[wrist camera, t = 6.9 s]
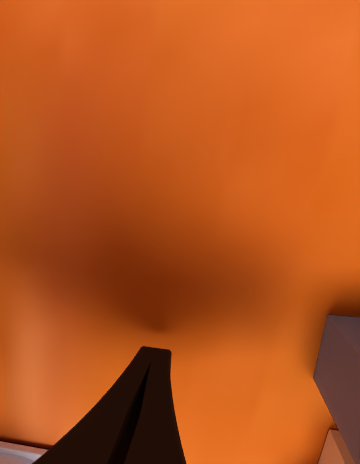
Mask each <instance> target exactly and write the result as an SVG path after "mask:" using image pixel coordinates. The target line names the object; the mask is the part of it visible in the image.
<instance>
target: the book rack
mask: <svg viewBox="0 0 360 464" xmlns="http://www.w3.org/2000/svg"><path fill="white" fill-rule="evenodd" d="M318 464H355V462H354V460H353V458H352V456H351V454H350V452H349V450H348V448H347V446H346V444H345V442H344V440H343V438H342V436H341V434H340V432H339V431H337V430H331V429H329V431H328V435H327V438H326V441H325V444H324V447H323V450H322V453H321V456H320V459H319V463H318Z"/></svg>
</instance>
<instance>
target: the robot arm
mask: <svg viewBox="0 0 360 464" xmlns="http://www.w3.org/2000/svg"><path fill="white" fill-rule="evenodd" d="M171 353H172V352H171V351H170V350H167V349H160V348H152V347H145V346H143V347H141V348H140V350H139V351H138V353H137V354H136V356H135V357H134V359H133V360H132V361H131V363H130V364H129V365H128V367H127V368H126V369H125V371H124V372H123V373H122V374H121V376H120V377H119V378H118V379H117V381H116V382H115V383H114V384H113V386H112V387H111V388H110V389H109V390H108V391H107V393H106V394H105V395H104V396H103V397H102V398H101V399H100V400H99V402H98V403H97V404H96V405H95V406H94V407H93V408H92V409H91V410H90V411H89V412H88V413H87V414H86V415H85V416H84V417H83V418H82V419H81V420H80V421H79V422H78V423H77V424H76V425H75V426H74V427H73V428H72V429H71V430H70V431H69V432H68V433H67V434H66V435H64V436H63V437H62V438H61V439H60V440H59V441H58V442H57V443H56V444H55V445H53V446H52V447H51V448H50V449H49V450H46V449H41V448H35V447H30V446H24V445H19V444H13V443H7V442H2V441H0V464H186V461H185V457H184V453H183V449H182V445H181V440H180V436H179V432H178V427H177V422H176V416H175V411H174V405H173V398H172V389H171V379H170V370H171Z"/></svg>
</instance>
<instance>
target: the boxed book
mask: <svg viewBox="0 0 360 464" xmlns="http://www.w3.org/2000/svg"><path fill="white" fill-rule="evenodd" d="M313 379H314V381H315V383H316V385H317V387H318V389H319V391H320V393H321V395H322V397H323V399H324V401H325V403H326V405H327V407H328V409H329V411H330V413H331V415H332V417H333V419H334V421H335V423H336V426H337V428H338V430H339V432H340V434H341V436H342V438H343V440H344V442H345V444H346V446H347V448H348V450H349V452H350V454H351V456H352V458H353V460H354V462H355V464H360V317H351V316H339V315H327V318H326V323H325V327H324V332H323V336H322V341H321V345H320V350H319V354H318V359H317V364H316V368H315V373H314V377H313Z"/></svg>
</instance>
